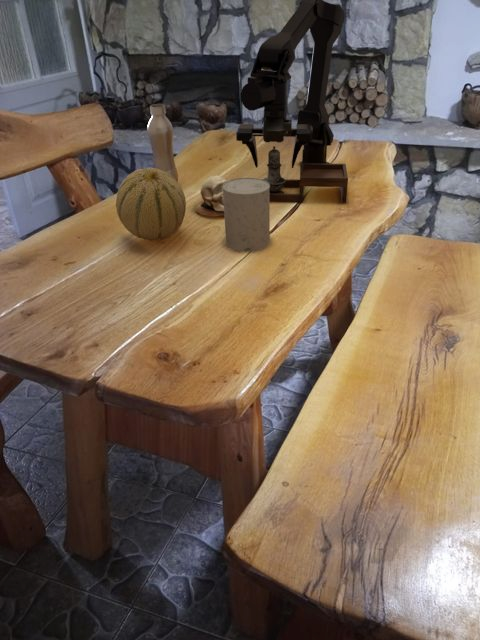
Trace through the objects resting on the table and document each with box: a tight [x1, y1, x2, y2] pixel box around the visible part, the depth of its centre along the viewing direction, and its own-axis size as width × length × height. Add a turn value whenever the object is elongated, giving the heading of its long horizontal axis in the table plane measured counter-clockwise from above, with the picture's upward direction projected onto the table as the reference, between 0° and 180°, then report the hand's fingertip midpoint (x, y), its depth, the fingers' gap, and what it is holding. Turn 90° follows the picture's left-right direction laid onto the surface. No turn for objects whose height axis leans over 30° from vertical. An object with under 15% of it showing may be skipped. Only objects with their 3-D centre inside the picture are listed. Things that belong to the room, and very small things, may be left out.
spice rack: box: [261, 162, 349, 204], centre depth 138 cm, size 23×11×6 cm, turn 86°
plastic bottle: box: [146, 103, 179, 183], centre depth 139 cm, size 6×7×20 cm
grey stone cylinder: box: [222, 177, 271, 253], centre depth 114 cm, size 10×10×12 cm
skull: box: [194, 175, 228, 217], centre depth 131 cm, size 12×10×10 cm
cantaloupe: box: [115, 167, 187, 242], centre depth 115 cm, size 15×15×15 cm
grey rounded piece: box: [262, 145, 286, 193], centre depth 136 cm, size 6×6×12 cm
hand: (274, 167), depth 141 cm, fingers open, 9 cm apart
